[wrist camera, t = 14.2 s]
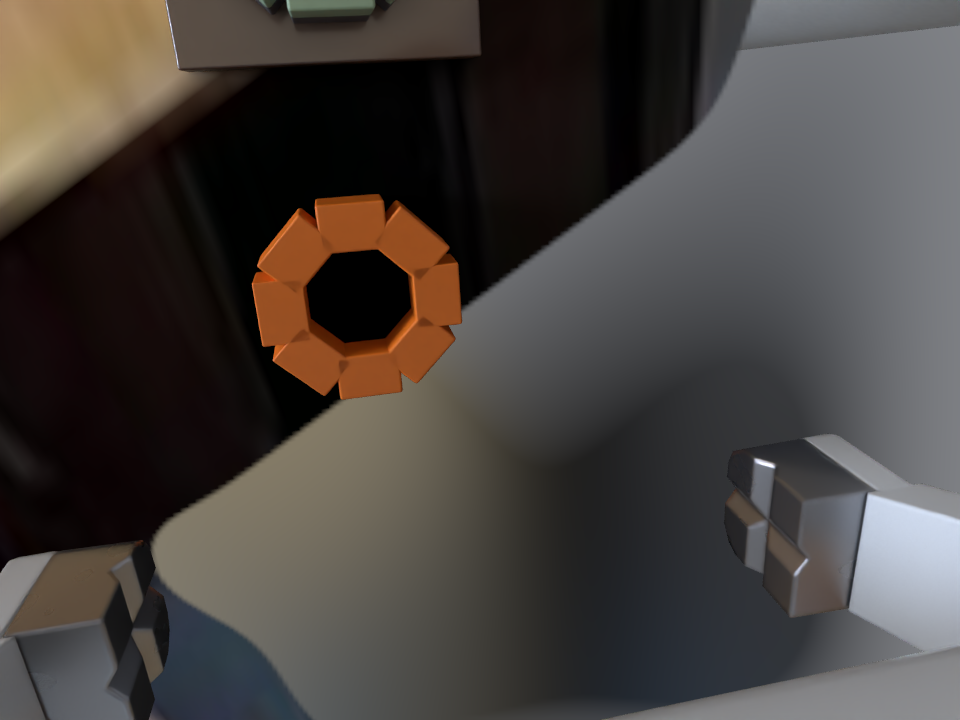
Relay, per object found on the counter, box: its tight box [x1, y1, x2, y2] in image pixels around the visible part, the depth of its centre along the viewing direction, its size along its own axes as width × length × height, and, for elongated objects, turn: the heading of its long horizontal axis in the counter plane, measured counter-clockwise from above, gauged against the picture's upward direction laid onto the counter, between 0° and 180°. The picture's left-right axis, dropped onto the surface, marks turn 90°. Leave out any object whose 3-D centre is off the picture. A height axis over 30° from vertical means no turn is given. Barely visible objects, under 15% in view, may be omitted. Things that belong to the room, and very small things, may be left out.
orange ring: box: [252, 194, 462, 400], centre depth 24 cm, size 7×7×2 cm
